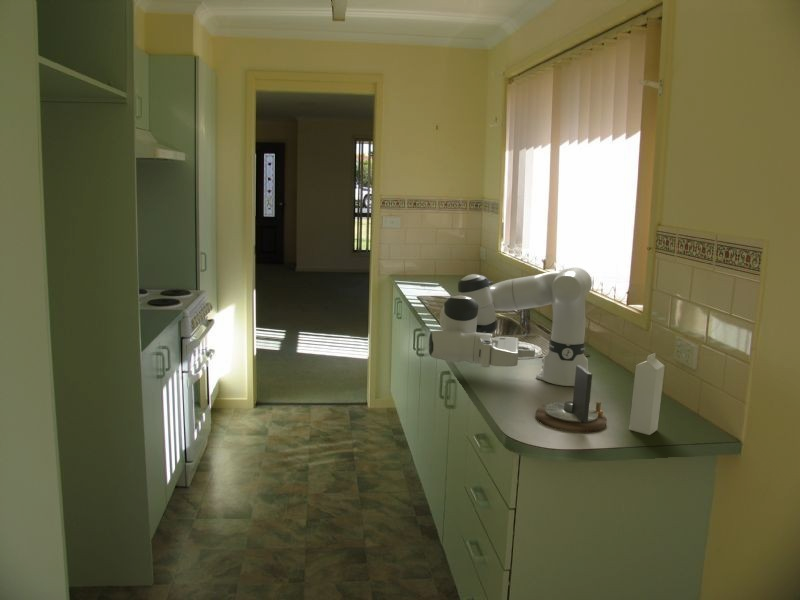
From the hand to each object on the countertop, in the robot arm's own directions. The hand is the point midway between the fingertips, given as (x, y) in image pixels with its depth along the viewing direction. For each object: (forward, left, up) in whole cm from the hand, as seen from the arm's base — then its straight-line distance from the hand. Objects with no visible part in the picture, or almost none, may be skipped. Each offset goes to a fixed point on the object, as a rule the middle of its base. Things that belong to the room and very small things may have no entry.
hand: (535, 352), depth 201 cm
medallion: (-84, -8, -21) cm, 87 cm away
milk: (-5, +32, -21) cm, 38 cm away
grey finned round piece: (-5, +13, -19) cm, 24 cm away
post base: (-7, +12, -21) cm, 25 cm away
